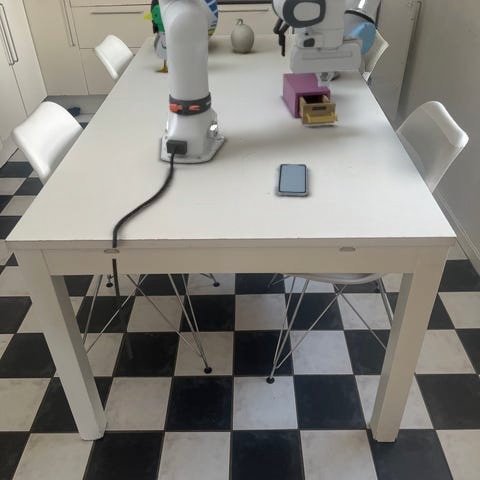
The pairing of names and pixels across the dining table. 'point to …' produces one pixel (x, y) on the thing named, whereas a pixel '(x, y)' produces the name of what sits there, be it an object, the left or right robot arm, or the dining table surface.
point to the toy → (158, 35)
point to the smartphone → (292, 179)
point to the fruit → (242, 37)
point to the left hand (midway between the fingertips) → (323, 86)
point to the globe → (208, 9)
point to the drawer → (316, 109)
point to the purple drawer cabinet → (301, 89)
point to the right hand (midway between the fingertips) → (303, 54)
